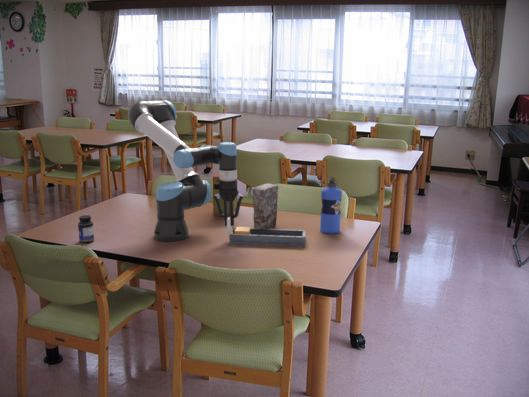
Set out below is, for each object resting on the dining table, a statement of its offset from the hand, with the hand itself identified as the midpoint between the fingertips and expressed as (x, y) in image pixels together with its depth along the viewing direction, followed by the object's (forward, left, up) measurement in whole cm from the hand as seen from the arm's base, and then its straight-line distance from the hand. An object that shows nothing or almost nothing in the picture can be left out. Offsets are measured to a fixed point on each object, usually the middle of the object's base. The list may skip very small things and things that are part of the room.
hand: (229, 232), depth 231 cm
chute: (+17, 0, -3) cm, 17 cm away
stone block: (+14, +20, -4) cm, 25 cm away
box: (-9, +45, -4) cm, 46 cm away
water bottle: (+44, +18, -3) cm, 48 cm away
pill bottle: (-60, -9, -3) cm, 61 cm away
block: (+6, 0, -2) cm, 6 cm away
